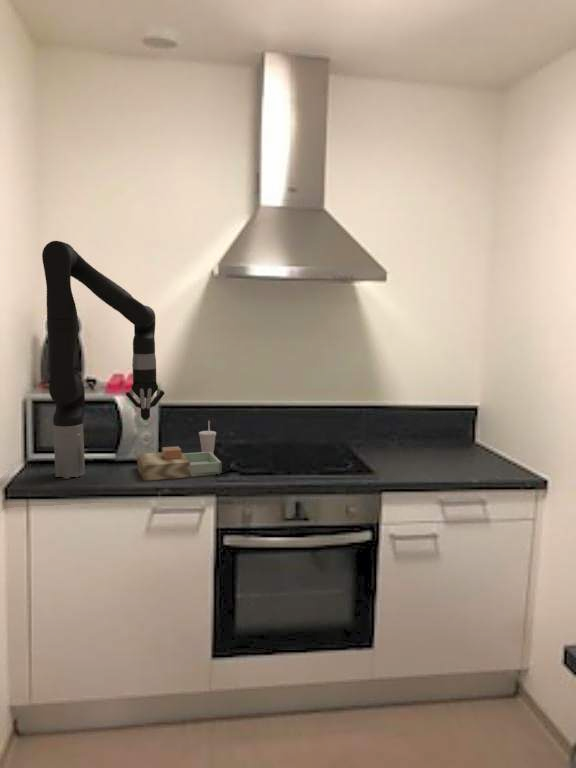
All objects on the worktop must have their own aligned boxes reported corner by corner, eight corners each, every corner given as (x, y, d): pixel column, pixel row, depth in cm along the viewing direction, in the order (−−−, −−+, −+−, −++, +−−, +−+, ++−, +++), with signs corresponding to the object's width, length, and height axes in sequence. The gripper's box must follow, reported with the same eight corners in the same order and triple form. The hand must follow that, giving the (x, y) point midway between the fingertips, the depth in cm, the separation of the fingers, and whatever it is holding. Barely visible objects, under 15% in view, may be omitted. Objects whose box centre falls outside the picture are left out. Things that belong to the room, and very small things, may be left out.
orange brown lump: (165, 459, 214) (164, 451, 214) (162, 455, 219) (162, 447, 219) (181, 458, 216) (181, 449, 216) (178, 454, 221) (178, 446, 221)
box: (190, 476, 213) (190, 465, 212) (181, 464, 228) (181, 453, 227) (221, 474, 216) (221, 462, 216) (210, 462, 231) (210, 451, 231)
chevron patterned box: (143, 480, 208) (143, 465, 207) (137, 468, 222) (137, 454, 222) (190, 476, 213) (189, 462, 212) (180, 464, 228) (180, 450, 227)
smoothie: (213, 461, 233) (213, 422, 231) (196, 459, 234) (196, 422, 232) (218, 456, 239) (218, 419, 237) (202, 455, 241) (202, 418, 239)
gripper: (124, 369, 205) (126, 422, 207) (166, 367, 209) (167, 420, 212) (122, 366, 212) (123, 418, 214) (162, 365, 216) (163, 416, 219)
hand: (145, 419), depth 213 cm, fingers closed
